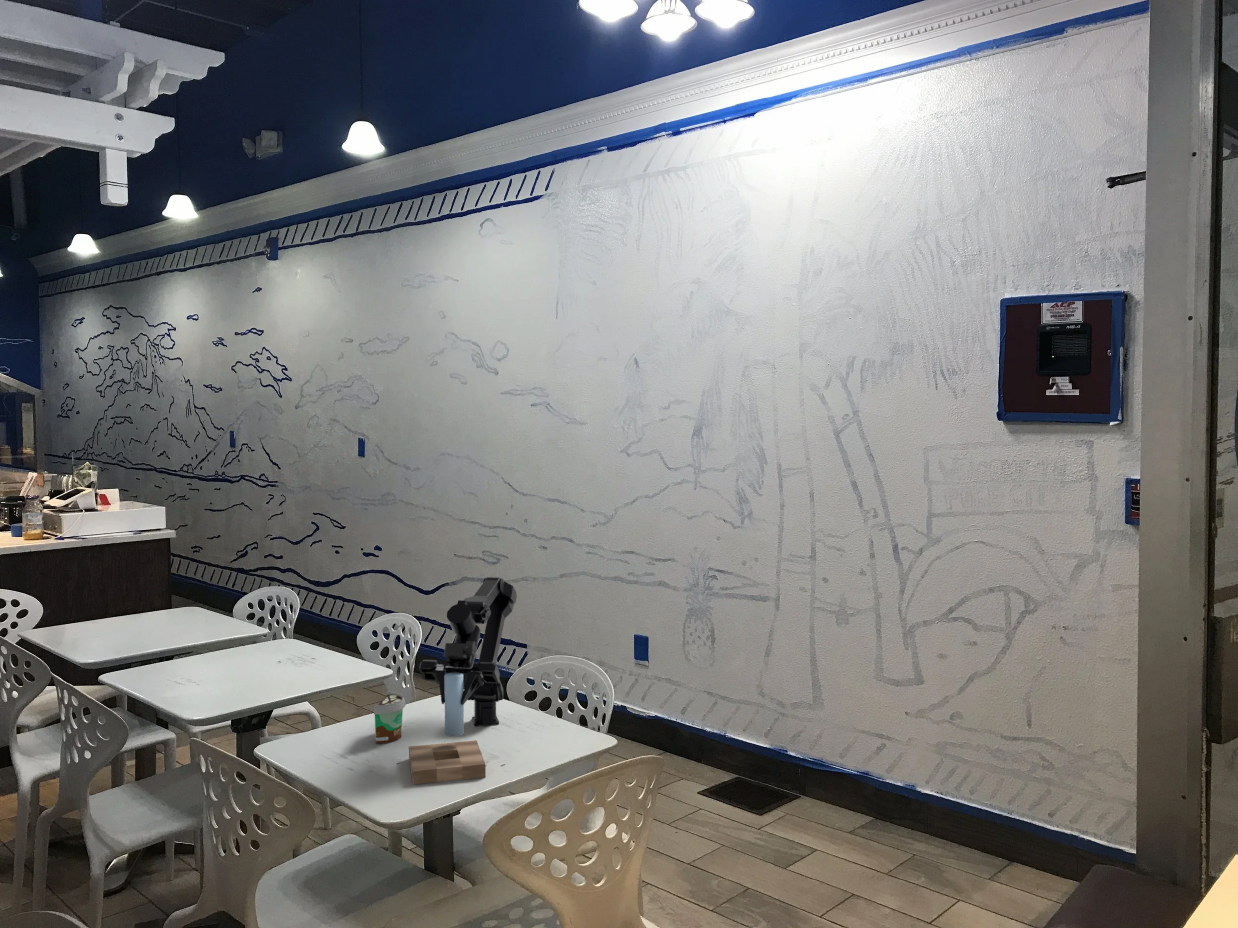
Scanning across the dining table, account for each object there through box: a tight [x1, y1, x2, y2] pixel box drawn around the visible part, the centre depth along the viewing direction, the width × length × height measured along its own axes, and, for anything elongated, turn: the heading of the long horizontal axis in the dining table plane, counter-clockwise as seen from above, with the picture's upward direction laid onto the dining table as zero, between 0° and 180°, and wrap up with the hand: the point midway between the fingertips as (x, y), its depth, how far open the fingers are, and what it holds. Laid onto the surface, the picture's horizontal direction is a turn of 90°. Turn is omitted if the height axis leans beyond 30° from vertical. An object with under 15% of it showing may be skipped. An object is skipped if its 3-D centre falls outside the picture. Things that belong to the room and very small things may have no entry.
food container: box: [373, 691, 406, 745], centre depth 242 cm, size 12×6×10 cm, turn 179°
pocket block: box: [408, 739, 487, 785], centre depth 222 cm, size 16×16×3 cm
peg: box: [444, 672, 465, 737], centre depth 228 cm, size 4×4×14 cm
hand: (452, 703), depth 227 cm, fingers closed on peg, 4 cm apart
